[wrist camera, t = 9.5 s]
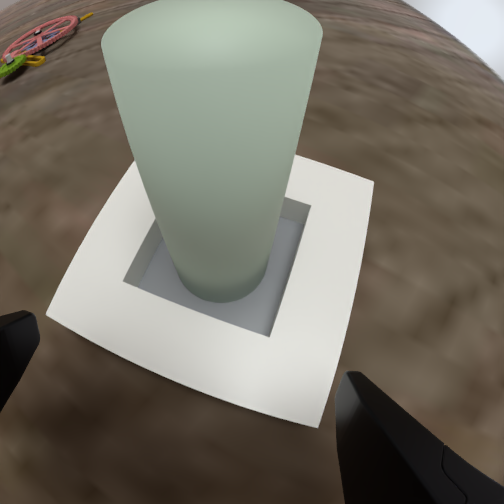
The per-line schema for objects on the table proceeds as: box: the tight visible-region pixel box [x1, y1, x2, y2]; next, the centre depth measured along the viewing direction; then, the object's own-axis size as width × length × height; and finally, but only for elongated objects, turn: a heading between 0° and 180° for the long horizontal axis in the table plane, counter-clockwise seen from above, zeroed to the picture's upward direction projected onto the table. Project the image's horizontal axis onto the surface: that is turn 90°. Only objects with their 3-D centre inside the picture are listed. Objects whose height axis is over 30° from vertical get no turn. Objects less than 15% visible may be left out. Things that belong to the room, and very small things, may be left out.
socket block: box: [46, 155, 374, 428], centre depth 17 cm, size 14×14×2 cm
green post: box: [101, 0, 323, 303], centre depth 11 cm, size 5×5×13 cm
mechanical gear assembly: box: [0, 12, 93, 78], centre depth 28 cm, size 30×4×15 cm
